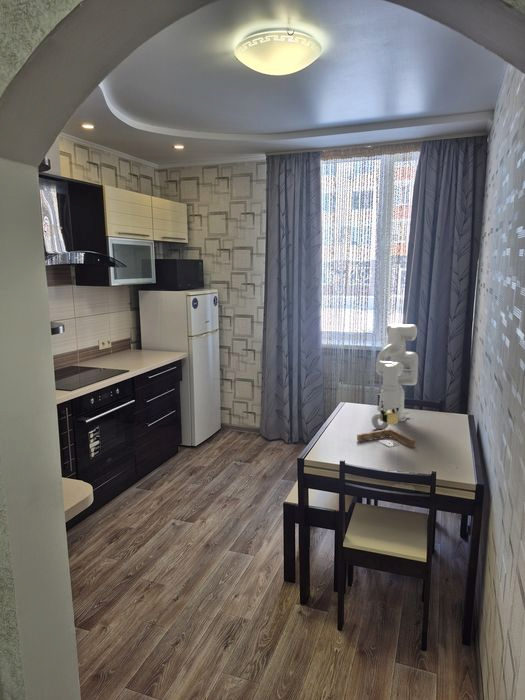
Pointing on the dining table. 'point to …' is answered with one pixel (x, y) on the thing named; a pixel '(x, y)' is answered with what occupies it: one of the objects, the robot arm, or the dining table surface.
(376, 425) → the donut
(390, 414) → the bar block
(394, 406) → the robot arm
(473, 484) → the dining table surface
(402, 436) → the tan wooden angled piece
